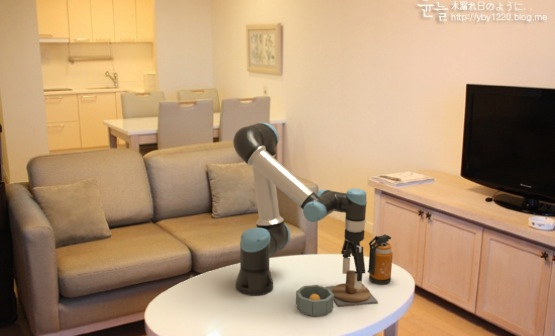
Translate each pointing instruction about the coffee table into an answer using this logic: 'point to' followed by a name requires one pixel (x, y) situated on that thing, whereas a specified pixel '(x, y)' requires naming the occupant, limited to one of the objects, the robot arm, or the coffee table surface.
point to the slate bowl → (314, 306)
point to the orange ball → (314, 297)
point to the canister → (380, 260)
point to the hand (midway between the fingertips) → (351, 280)
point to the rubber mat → (342, 303)
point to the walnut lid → (350, 290)
